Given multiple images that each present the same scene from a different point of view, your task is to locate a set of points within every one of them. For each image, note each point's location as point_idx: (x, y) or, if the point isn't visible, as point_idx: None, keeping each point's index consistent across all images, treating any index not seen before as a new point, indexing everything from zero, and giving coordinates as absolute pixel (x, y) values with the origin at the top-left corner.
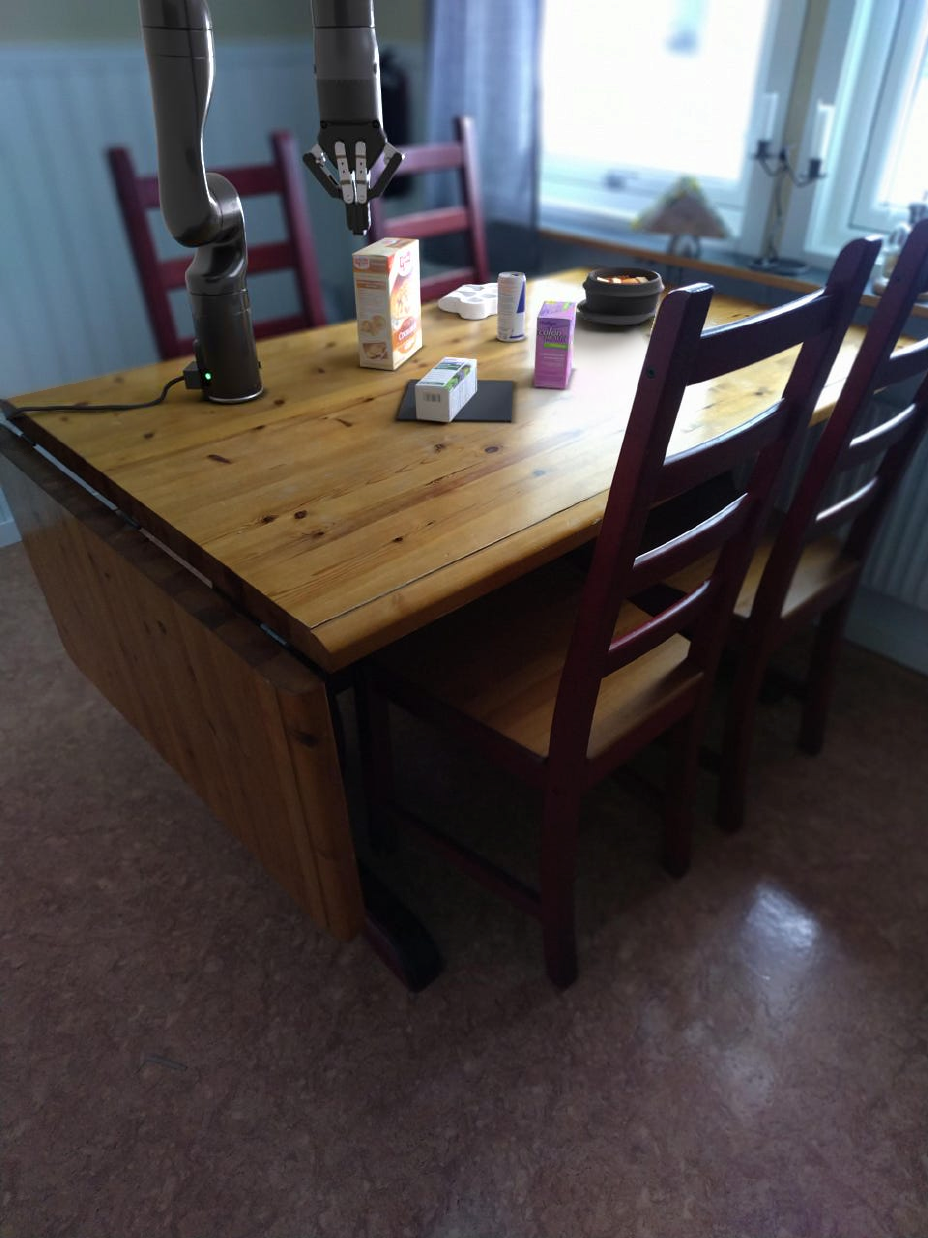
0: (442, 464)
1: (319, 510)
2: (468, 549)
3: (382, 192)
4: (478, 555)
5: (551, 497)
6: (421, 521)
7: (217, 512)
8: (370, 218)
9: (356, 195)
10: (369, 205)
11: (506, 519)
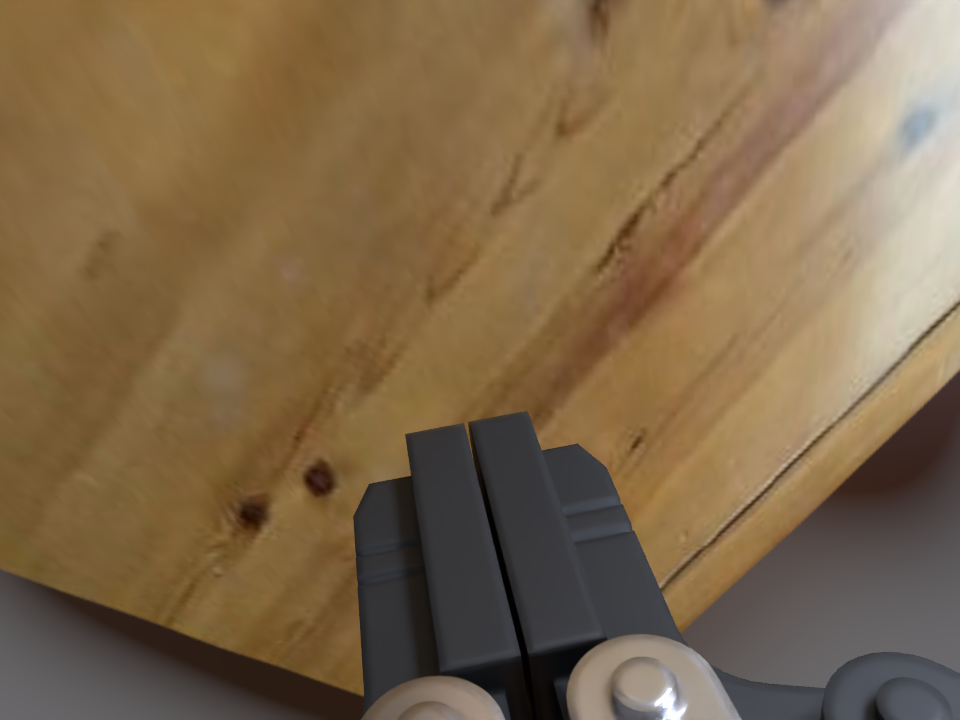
0: (627, 126)
1: (356, 451)
2: (725, 510)
3: (945, 683)
4: (745, 523)
5: (926, 263)
6: (615, 439)
7: (104, 517)
8: (623, 509)
9: (503, 715)
10: (670, 621)
11: (807, 387)
